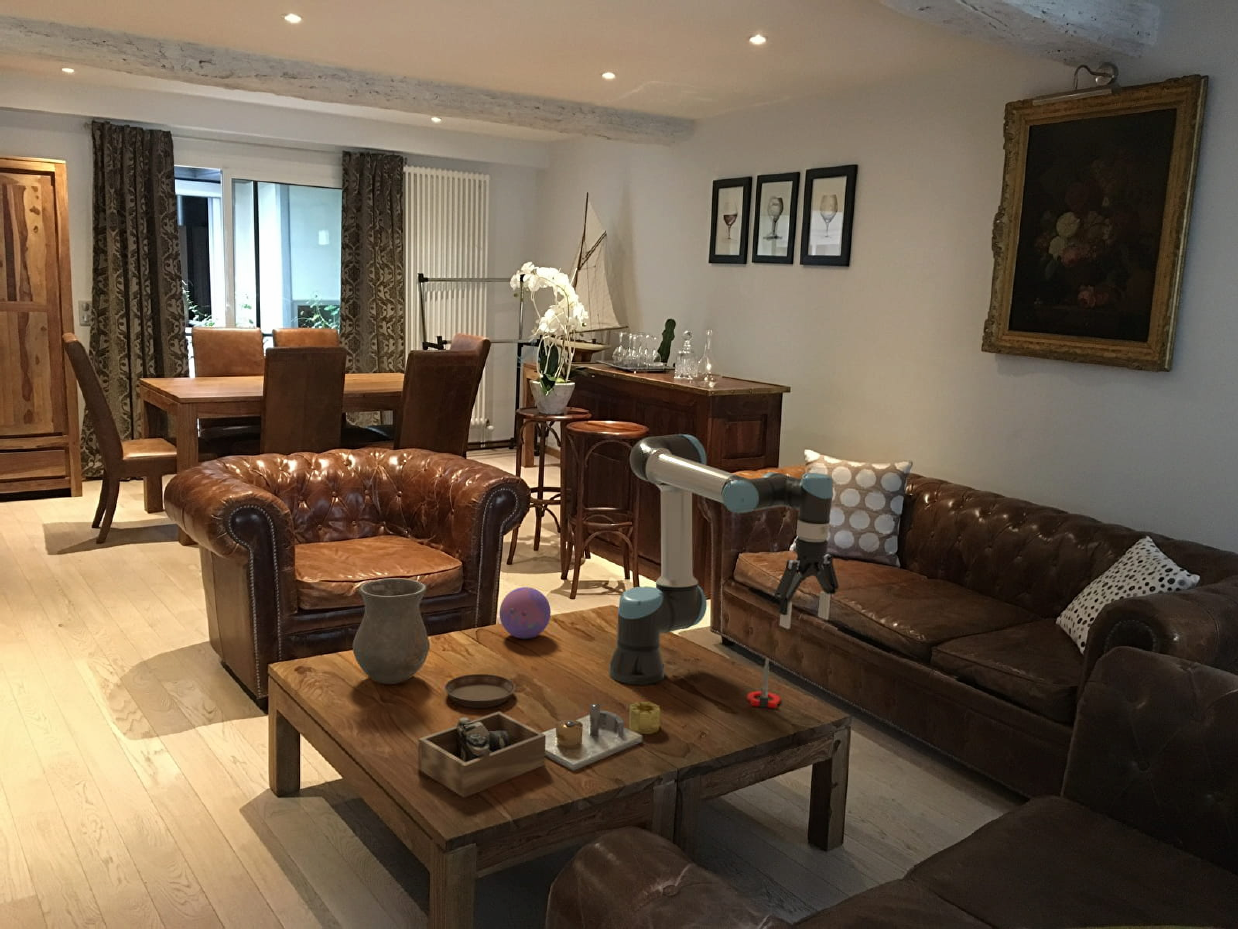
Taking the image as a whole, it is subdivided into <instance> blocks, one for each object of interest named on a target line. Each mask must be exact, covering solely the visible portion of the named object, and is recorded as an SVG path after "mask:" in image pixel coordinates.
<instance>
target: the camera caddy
mask: <svg viewBox="0 0 1238 929" xmlns="http://www.w3.org/2000/svg"><path fill="white" fill-rule="evenodd" d="M470 722H473V724H474V723H477V722H481V723H482V724H483V725H484V727H485V728H486V729H487V731H488V732H489V731H499V730H500V731H506V732H507V733H508V735H509V738H510V742H511V746H508V747H506V748H503V749H500V750H498V751H495V752H492V753H490V754H488V755H485V756H482V757H479V758H476V759H474V760H471V761H468V762H464V761H462V760H460V759H459V757H458V754H457V725H455V726H452V727H449V728H446V729H443V730H440V731H437V732H435V733H434V732H433V733H432V734H429V735H426V736H423V737H419V738H418V757H417V758H418V760H417V764H418V766H417V767H418V768H417V769H418V770H419V772H422V773H424V774H425V775H427V776H429V778H432V779H433V780H435V781H436V782H438V783H440V784H441V785H442V786H445V787H446V788H447V789H450V790H451V791H453V792H454V793H456V794H457V795H459V796H460V797H462V798H467V797H469V796H471V795H474V794H476V793H479V792H482V791H484V790H487V789H488V788H489V789H490V788H491V787H495V786H496V785H499V784H501V783H503V782H506V781H508V780H511V779H513V778H514V779H515V778H516V777H518V776H521V775H523V774H525V773H528V772H531V771H533V770H536V769H538V768H541V767H543V766H546V764H545V762H546V761H545V760H546V756H545V743H546V735H544V734H543V732H541V731H539V730H536V729H534V728H533V727H531V726H529V725H526V724H524V723H523V722H521V721H519V720H517V719H515V718H513V717H511V716H509V715H507V714H505V713H503V712H501V711H497V712H496V711H495V712H493V713H490V714H487V715H484V716H482V717H478V718H475V719H473V720H472V719H471V720H470Z"/></svg>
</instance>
